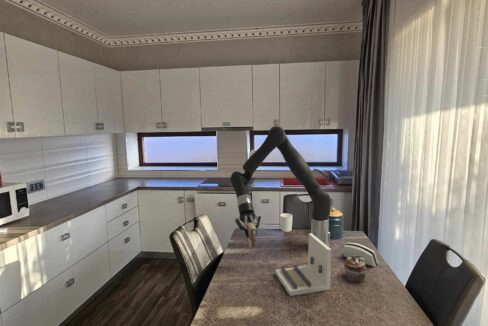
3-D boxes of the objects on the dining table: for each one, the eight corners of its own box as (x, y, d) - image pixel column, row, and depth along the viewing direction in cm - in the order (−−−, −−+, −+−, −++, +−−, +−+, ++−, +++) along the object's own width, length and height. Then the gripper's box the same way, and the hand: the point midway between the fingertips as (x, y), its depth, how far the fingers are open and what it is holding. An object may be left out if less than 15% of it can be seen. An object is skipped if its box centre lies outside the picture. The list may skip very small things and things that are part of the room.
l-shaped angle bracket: (310, 268, 142) (311, 233, 139) (330, 289, 125) (331, 249, 122) (275, 273, 138) (275, 237, 135) (290, 296, 120) (290, 254, 118)
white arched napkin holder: (379, 263, 145) (377, 248, 142) (375, 270, 143) (373, 254, 139) (348, 252, 158) (345, 237, 154) (343, 258, 155) (341, 243, 152)
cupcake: (340, 278, 133) (341, 257, 131) (347, 269, 141) (348, 249, 139) (362, 285, 127) (363, 263, 126) (368, 275, 135) (370, 255, 133)
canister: (345, 233, 184) (346, 206, 182) (341, 241, 173) (342, 212, 170) (324, 230, 190) (324, 203, 188) (319, 237, 179) (319, 209, 176)
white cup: (293, 228, 194) (293, 213, 192) (291, 232, 187) (291, 217, 185) (281, 227, 197) (281, 212, 195) (279, 231, 189) (279, 216, 188)
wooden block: (251, 240, 149) (251, 221, 147) (256, 248, 140) (256, 228, 138) (246, 241, 148) (245, 222, 146) (250, 249, 140) (250, 229, 138)
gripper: (232, 203, 148) (238, 235, 138) (259, 200, 151) (267, 231, 141) (231, 210, 154) (236, 241, 144) (256, 207, 157) (264, 238, 147)
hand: (251, 236), depth 143 cm, fingers closed on wooden block, 3 cm apart
